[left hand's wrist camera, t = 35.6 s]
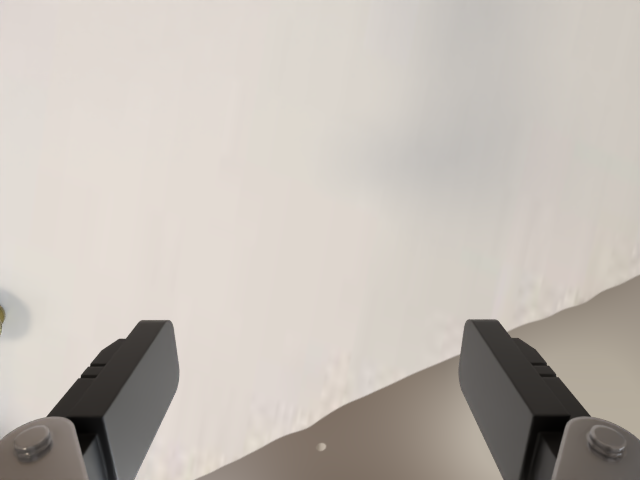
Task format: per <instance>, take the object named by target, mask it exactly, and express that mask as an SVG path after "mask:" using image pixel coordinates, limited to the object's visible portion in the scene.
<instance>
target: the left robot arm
mask: <svg viewBox="0 0 640 480" xmlns="http://www.w3.org/2000/svg"><path fill="white" fill-rule="evenodd" d="M178 382H179V363H178V356H177V349H176V342H175V335H174V328H173V324H172V322H171V321H170V320H141V321H140V322H139V323H138V324H137V325H136V326H135V328H134V329H133V330H132V332H131V333H130V334H129V335H128V337H127V338H126V339H118V340H117V341H115V342H114V343H112V344H111V345H109V346H108V347H106V348H105V349H103V350H102V351H101V352H100V353H99V354H98V356H97V357H96V358H95V359H94V360H93V362H92V363H91V364H90V367H88V368H87V369H86V370H85V371H84V372H83V374H82V375H81V378H78V380H77V381H76V382H75V383H74V384H73V386H72V387H71V388H70V389H69V390H68V392H67V393H66V394H65V395H64V396H63V398H62V399H61V400H60V401H59V402H58V404H57V405H56V406H55V407H54V408H53V410H52V411H51V412H50V413H49V414H48V415H47V417H45V418H41V419H37V420H34V421H31V422H29V423H26V424H24V425H22V426H20V427H18V428H16V429H15V430H13V431H12V432H10V433H9V434H7V435H6V436H5V437H4V438H2V439H1V440H0V480H134V479H135V477H136V475H137V473H138V471H139V468H140V466H141V464H142V462H143V460H144V458H145V456H146V454H147V452H148V450H149V447H150V445H151V443H152V441H153V439H154V437H155V435H156V433H157V431H158V428H159V426H160V424H161V422H162V420H163V418H164V416H165V414H166V412H167V410H168V407H169V405H170V403H171V401H172V399H173V397H174V395H175V393H176V390H177V387H178ZM459 382H460V386H461V390H462V392H463V394H464V396H465V398H466V401H467V403H468V405H469V407H470V409H471V411H472V413H473V416H474V418H475V420H476V422H477V424H478V426H479V428H480V431H481V433H482V435H483V437H484V439H485V441H486V443H487V445H488V448H489V450H490V452H491V454H492V456H493V458H494V460H495V462H496V465H497V467H498V469H499V471H500V473H501V475H502V477H503V479H504V480H640V440H639V439H637V438H636V437H635V436H634V435H632V434H631V433H630V432H628V431H627V430H625V429H624V428H622V427H620V426H618V425H616V424H614V423H611V422H609V421H606V420H603V419H599V418H595V417H591V416H590V415H589V414H588V412H587V411H586V410H585V409H584V408H583V406H582V405H581V404H580V403H579V402H578V400H577V399H576V398H575V397H574V396H573V394H572V393H571V392H570V391H569V389H568V388H567V387H566V386H565V385H564V383H563V382H562V381H561V380H560V379H559V377H556V374H555V372H554V371H553V370H552V369H551V368H550V366H547V363H546V362H545V360H544V359H543V358H542V357H541V356H540V354H539V353H538V352H537V351H536V350H535V349H534V348H532V347H531V346H529V345H528V344H526V343H525V342H523V341H522V340H520V339H519V338H511V337H510V335H509V334H508V333H507V332H506V330H505V329H504V328H503V326H502V325H501V324H500V322H499V321H498V320H467V321H466V323H465V326H464V333H463V340H462V347H461V354H460V362H459Z"/></svg>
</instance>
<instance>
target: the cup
mask: <svg viewBox="0 0 640 480" xmlns="http://www.w3.org/2000/svg"><path fill="white" fill-rule="evenodd" d="M4 320H5V311H4V309H3V308H2V307H1V306H0V335H1V331H2V323H3V322H4Z"/></svg>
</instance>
